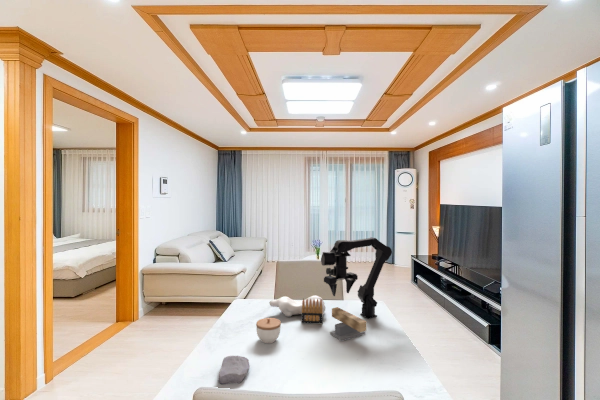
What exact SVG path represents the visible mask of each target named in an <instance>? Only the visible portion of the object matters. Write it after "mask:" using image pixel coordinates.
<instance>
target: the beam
mask: <svg viewBox="0 0 600 400" xmlns="http://www.w3.org/2000/svg"><path fill="white" fill-rule="evenodd" d="M331 317H332V318H333V319H335V320H337V321H338V322H339V321H340V323H342V322H343V323H344V324H346V325H348V326H350V327H352V328H353V329H355V330H357V331H359V332H363V331H365V332H366V331H367V321H366V320H364V319H363V318H360V317H359V316H357V315H354V314H353V313H351V312H348V311H346V310H344V309H343V308H340V307H339V306H338V307H333V308H331Z"/></svg>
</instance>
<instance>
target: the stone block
mask: <svg viewBox="0 0 600 400" xmlns="http://www.w3.org/2000/svg"><path fill="white" fill-rule="evenodd" d="M220 366H221V367H220V370H219V371H218V382H219V384H221V385H223V384H225V385H226V384H227V385H228V384H240V383H242V381H243V380H244V378H245V377H246V375H248V374H247V373H248V372H249V369H251V368H250V366H251V365H250V360H249V359H248V358H247V357H245V356H240V355H228V356H225V357H224V358H223V359H222V362H221V365H220Z"/></svg>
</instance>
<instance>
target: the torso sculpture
mask: <svg viewBox="0 0 600 400" xmlns="http://www.w3.org/2000/svg"><path fill="white" fill-rule="evenodd" d="M306 299H308V307H309V302H310V299H311V301H312V307H313V300H314V299H315V307H316V302H317V299H318V302H319V307H320V300H322V308H323V315H324V314H325V311H326V304H325V301H324V300H323V298H322V297H321V296H319V295H316V294H315V295H311V296H309V297H307V298H306ZM306 299H304V301H305V307H306ZM302 301H303V300H299V301H298V300H295V299H292V298H290V297H289V296H284V295H283V296H281V297H279V298H278V299H272V300H270V301H269V305H270V307H273V308H278V309H279V310H280V311H281V313H282V314H283V315H284V316H286V317H292V316H293V315H294V316H295V315H302Z"/></svg>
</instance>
